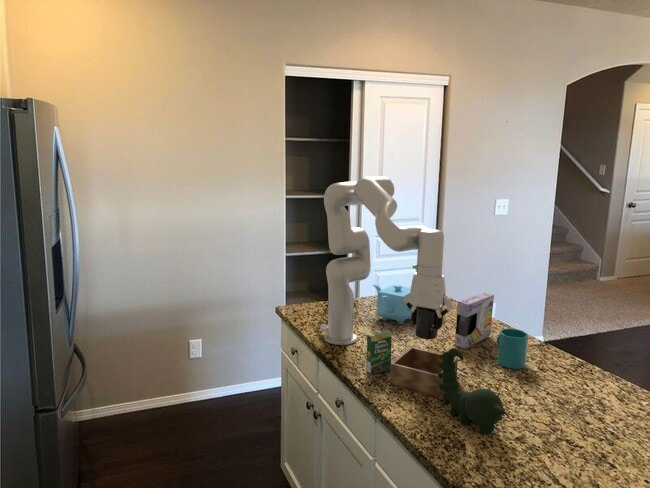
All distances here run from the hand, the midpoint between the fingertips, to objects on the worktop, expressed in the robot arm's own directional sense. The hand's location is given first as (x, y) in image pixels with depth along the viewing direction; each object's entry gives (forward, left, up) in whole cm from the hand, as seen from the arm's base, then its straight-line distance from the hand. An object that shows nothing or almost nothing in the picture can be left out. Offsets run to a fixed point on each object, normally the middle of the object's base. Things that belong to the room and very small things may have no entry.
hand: (426, 325), depth 156 cm
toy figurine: (+19, -15, -19) cm, 31 cm away
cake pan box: (+3, +42, -19) cm, 46 cm away
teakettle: (-32, +49, -19) cm, 61 cm away
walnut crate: (0, 0, -19) cm, 19 cm away
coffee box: (-15, -1, -19) cm, 24 cm away
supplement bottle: (0, 0, -3) cm, 3 cm away
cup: (+19, +30, -19) cm, 40 cm away
